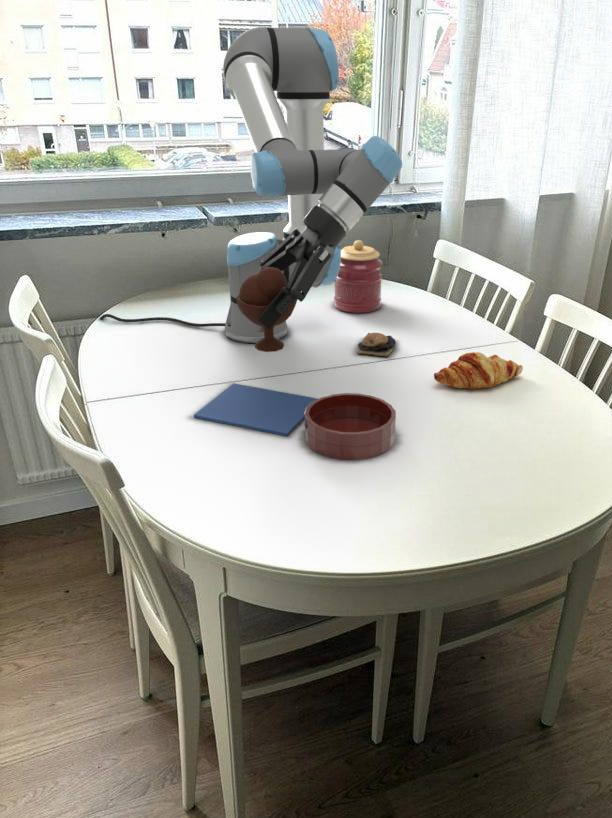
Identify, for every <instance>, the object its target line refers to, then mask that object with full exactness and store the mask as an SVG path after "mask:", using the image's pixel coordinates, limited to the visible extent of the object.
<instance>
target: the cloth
mask: <svg viewBox="0 0 612 818" xmlns="http://www.w3.org/2000/svg"><path fill="white" fill-rule="evenodd" d="M317 399H318V398H317V397H311V396H306V395H300V394H295V393H289V392H284V391H277V390H273V389H269V388H267V389H266V388H261V387H256V386H251V385H245V384H239V383H232V384H231V385H230V386H228V387H227V388H226V389H225V390H223V391H222V392H221V393H220V394H219V395H217V396H215V397H214V398H213V399H211V401H209V402H208V403H207V404H206V405H204V406H203V407H201V409H199V410H198V411H196V413H195V414H193V418H194V419H200V420H204V421H209V422H215V423H220V424H225V425H230V426H234V427H239V428H244V429H249V430H255V431H259V432H264V433H270V434H274V435H280V436H284V437H288V436H289V435H290V434H291V433H293V431H294V430H295V429H296V428H297V427H298V426H299V425H300V423H302V422H303V421H304V420H305V416H304V414H305V410H306V407H307V406H308V405H309V404H310V403H311V402H313V401H315V400H317Z"/></svg>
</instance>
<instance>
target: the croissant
mask: <svg viewBox="0 0 612 818" xmlns="http://www.w3.org/2000/svg"><path fill="white" fill-rule="evenodd" d="M523 370H524V367H523V365H522V364H518V363H516V362H515V361H513V360H512V359H509V360H506V359H505V358H501V356H500V355H498V354H492V355H490V356H487V355H486V354H484V353H483V352H479V351H477V352H475V351H470V352H465V353H463V354H461V355H460V356H459V357H458V358H457V360H454V361H452V362H450V363H449V365H448V367H446V366H445V367H443V368H441V369H439V371H437V372H435V373H433V378H434V380H435V382H437V383H440V384H442V385H447V386H450V387H452V388H456V389H471V390H472V389H473V390H474V389H475V390H476V389H477V390H478V389H483V388H491V387H494V386H497V385H499V384H501V383H505V382H507V381H509V380H510V379H512V378H516V377H517V376H519V375H520V374H522V372H523Z"/></svg>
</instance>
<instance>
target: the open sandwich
mask: <svg viewBox="0 0 612 818" xmlns="http://www.w3.org/2000/svg"><path fill="white" fill-rule="evenodd" d="M396 341H397V340H396V339H395V338H394V337H393V336H392V335H386V334H384V333H381V332H368V333H366V335H365V336H364V337H363V339H362V341H361V342H358V344H357V348H358V349H357V354H358V355H359V354H360V355H373V356H379V357H380V356H381V357H387V358H388V357H389V356H390V354H391V353H392V352H394V349H395V345H396V344H397V343H396Z"/></svg>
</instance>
